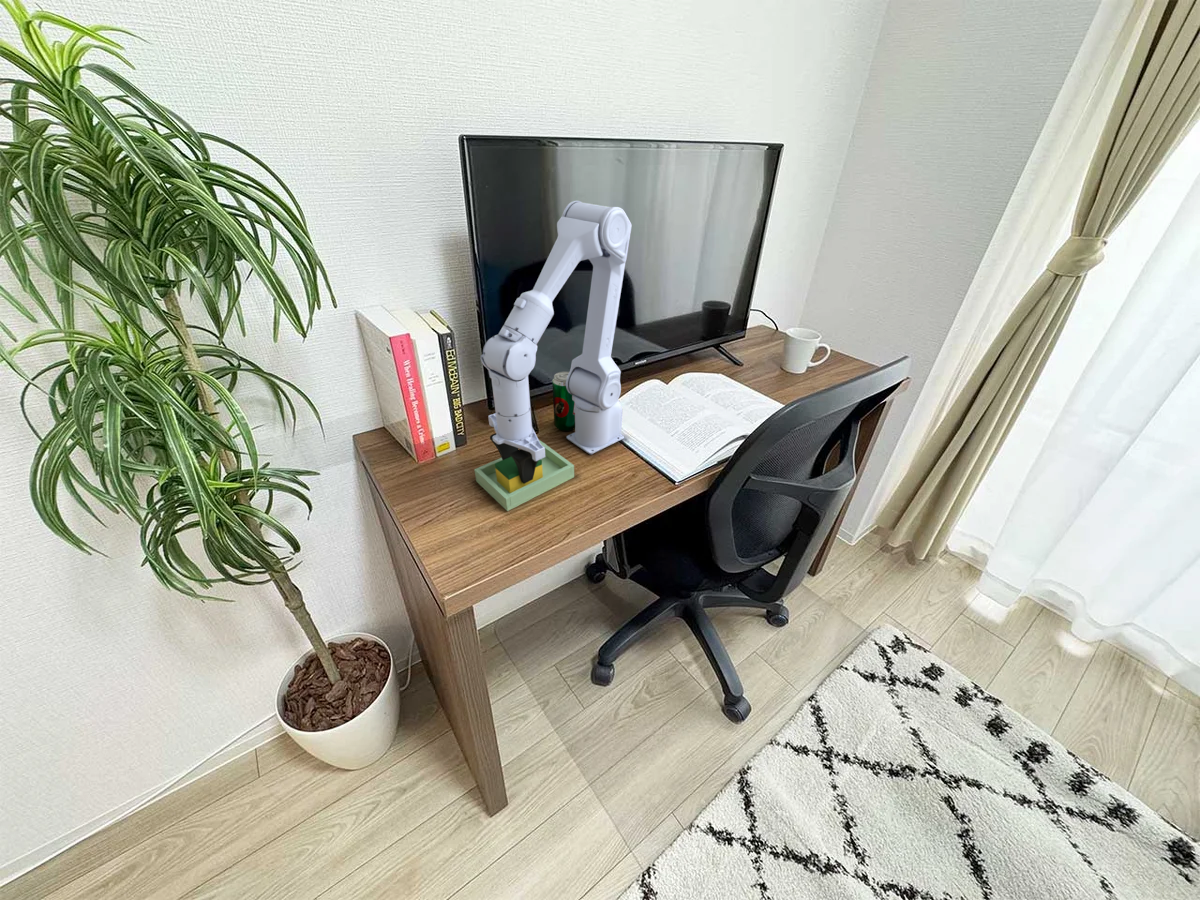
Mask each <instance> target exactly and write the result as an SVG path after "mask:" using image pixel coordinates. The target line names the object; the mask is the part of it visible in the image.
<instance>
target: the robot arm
mask: <svg viewBox="0 0 1200 900" xmlns="http://www.w3.org/2000/svg"><path fill="white" fill-rule="evenodd" d="M632 227H633V225H632V223H631V221H630V219H629V217H628V215H627V213H626V212H625V210H624V209H623V208H622V207H620V206H606V205H601V204H594V203H588V202H583V201H581V200H572V201H571V202H569V203H567V205H566V206H565V207H564V209H563V212H562V214H561V217H560V218H559V219H558V220H557V222H556V230H557V238H556V240H555V241H554V244H553V246H552V247H551V250H550V253H549V254H548V256H547V259H546V261H545V263H544V265H543V267H542V269H541V272H540V273H539V275H538V278H537V280H536V282H535V284H534V286H533V288H532V289H531V290H528V291H525V292H522V293H521V294H520V296H519V297H516V300H515V302H514V303H513V308H512V309H511V311H510V313H509V314H508V317H507V318H506V320H505V322H504V324H503V325H502V327H501V329H500V330H499V332H498V334H495V335H493V336H492V337H490V338H489V339H487V341H486V342H485V343H484V346H483V349H482V354H481V355H480V356H479V357H480V362H481V363H482V365H483V366H484V367H485V368H486V369H487V370H488V374H489V378H490V380H491V387H492V395H493V403H494V410H495V413H493V414H489V415H488V417H487V418H488V424H489V426H490V427H491V428H493V429H494V432H495V433H492V434H490V436H489V440H490V441H491V442H492V443H493V445H494V446H495V448H496V450H497V452H498V453H499V455H500V458H502V460H504V459H507V458H509V457H512V458H513V460H514V461H515V463H516V465H517V468H518V472H519V477H520V479H521V482H522V483H526V482H529V481H531V480H533V476H534V472H535V468H536V465H537V462H538V460H540V459H542V458H544V457H545V447H544V446H542V445H541V443H540V441H541V440H540V439H539V438H538V435H537V434H536V432H535V430H534V428H533V423H532V410H531V397H530V384H529V383H530V382H529V375H530V373H531V372H532V371H533V370H534V368H535V366H536V360H537V356H536V355H537V351H538V343H539V341H541V338H542V336H543V334H544V333H545V331H546V329H547V327H548V325H549V324H550V322H551V320H552V319H553V317H554V315H555V311H554V306H553V302H554V300H555V298H556V297H557V295H558V294H559V292H560V291H561V290H562V289H563V287H564V285H565V284H566V282H567V281H568V279H569V277H570V276H571V275H572V273H573V272H574V271H575V269H576V268H577V266H578V264H579V263H580V262H581V261H586V260H588V261H589V262H590V263H591V265H592V273H591V280H590V281H591V282H590V289H589V296H588V297H589V298H588V306H587V313H586V322H585V327H584V328H585V330H584V337H583V344H582V352H581V354H580V355H578V356H576V357H574V358H572V360H571V364H570V369H569V371H568V372H569V374H568V376H567V379H566V389H567V391H568V392H569V393H570V394H572V400H573V401H574V402H575V428H574V432H572V433H570V434H567V435H566V439H567V440H568V441H569V442H571V443H573V444H574V445H575V446H576V447H578V448H580V449H581V450H583V452H586V453H587V454H589V455H593V454H595V453H598V452H600V451H602V450H604V449H605V448H607V447H608V448H609V446H611V445H613V444H616V443H618V442H620V441H623V440H624V439H625V436H624V435H623V434H622V429H623V406H622V403H621V402H620V400H619V398H620V397H621V392H622V385H621V373H622V371H621V369H620V367H619V366H618V365H617V364H616V363H615V361H614V359H613V358H612V352H613V344H614V339H615V333H616V327H617V320H618V314H619V307H620V299H621V293H622V288H623V281H624V275H625V268H626V262H627V258H628V253H629V245H630V239H631V232H632Z"/></svg>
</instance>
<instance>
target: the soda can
mask: <svg viewBox="0 0 1200 900" xmlns="http://www.w3.org/2000/svg"><path fill="white" fill-rule="evenodd" d="M569 372H570V371H558V372H557V373H555V374H554V375H553V379H552V380H551V383H552V384H551V385H552V386H551V387H552V403H553V404H552V405H553V425H554V427H555V428H556V429H557V430H559V431H562V432H569V431H573V430H575V402H574V401H573V400H572V394H570V393H569V392H568V391H567V389H566V379H567V376H568V374H569Z"/></svg>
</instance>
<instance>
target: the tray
mask: <svg viewBox="0 0 1200 900" xmlns="http://www.w3.org/2000/svg"><path fill="white" fill-rule="evenodd" d="M539 441H540V443H541V445H542V446H544V447H545V457H544V458H542V459H541V460H542V471H543V478H541V479H539V480H537V481H534V482H532V483H530V484H528V485H526V486H524V487H522V488H520V489H518V490H516V491H514V492H512V493H509V492H508V491H507V490H506V489H505V488H504V487H503V486H502V485H501V484H500V483H499V482H497V477H496V469H495V463H498V462H500V461H502V458H501V457H499V458H498V459H495V460H493V461H489V462H488V463H486V464H483V465H481V466H479V467H477V468H474V475H475V481H476V483H477V484H478V485H479V486H480V487H481V488H483V489H484V490H485V491H486V492H487V494H489V496H490V497H492V498H493V499H494V500H495V501H496V502H497V503H498V504H499V505H500V506H501V507H502V508H503V509H504V510H505V511H507V512H509V511H511V510H513V509H515V508H517V507H519V506H520V505H523V504H524V503H527V502H528V501H531V500H533V499H534V498H537V497H538V496H540V495H543V494H544V493H546V492H548V491H550V490H552V489H554V488H556V487H558V486H560V485H562V484H564V483H565V482H568V481H569V480H570V481H571V479H573V478H575V464H573V463H572V462H570V461H569V460H568V459H566V458H565V457H564V456H562V455H561V454H560V453H558V452H557V451H556V450H554V449H553V448H551V447H550V446H549V445H547V444H546V443H545V442H543V441H542V440H539Z"/></svg>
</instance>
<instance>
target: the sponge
mask: <svg viewBox="0 0 1200 900" xmlns="http://www.w3.org/2000/svg"><path fill="white" fill-rule="evenodd" d="M495 469H496V477H497V482H499V483H500V484H501V485H502V486H503V487H504V488H505V489H506V490H507V491H508V492H509V493H512V492H514V491H516V490H518V489H520V488H522V487H524V486H526V485H528V484H530V483H532V482H534V481H537V480H539V479H541V478H543V471H542V460H541V459H540V460H538V462H537V465H536V468H535V472H534V476H533V480H531V481H529V482H526V483H522V482H521V479H520V477H519V472H518V468H517V465H516V463H515V461H514V460H513V458H512V457H509V458H507V459H504V460H502V461H500V462H498V463H495Z"/></svg>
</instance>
